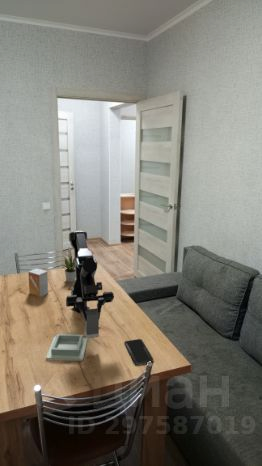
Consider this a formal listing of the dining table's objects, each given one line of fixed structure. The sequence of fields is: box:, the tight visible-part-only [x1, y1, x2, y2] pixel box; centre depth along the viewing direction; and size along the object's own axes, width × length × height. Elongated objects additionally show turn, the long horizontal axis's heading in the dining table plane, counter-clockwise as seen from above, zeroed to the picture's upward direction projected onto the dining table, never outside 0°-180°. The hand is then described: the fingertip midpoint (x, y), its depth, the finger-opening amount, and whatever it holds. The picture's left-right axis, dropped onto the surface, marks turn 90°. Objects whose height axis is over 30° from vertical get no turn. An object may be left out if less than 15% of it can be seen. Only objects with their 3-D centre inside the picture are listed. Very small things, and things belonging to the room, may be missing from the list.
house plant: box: [59, 253, 76, 283], centre depth 196 cm, size 14×14×16 cm
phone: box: [123, 338, 154, 366], centre depth 131 cm, size 8×1×15 cm
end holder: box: [45, 333, 89, 362], centre depth 131 cm, size 14×14×4 cm
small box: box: [27, 267, 49, 298], centre depth 177 cm, size 8×6×13 cm
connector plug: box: [84, 307, 100, 339], centre depth 129 cm, size 5×5×10 cm
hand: (92, 320), depth 128 cm, fingers closed on connector plug, 5 cm apart
